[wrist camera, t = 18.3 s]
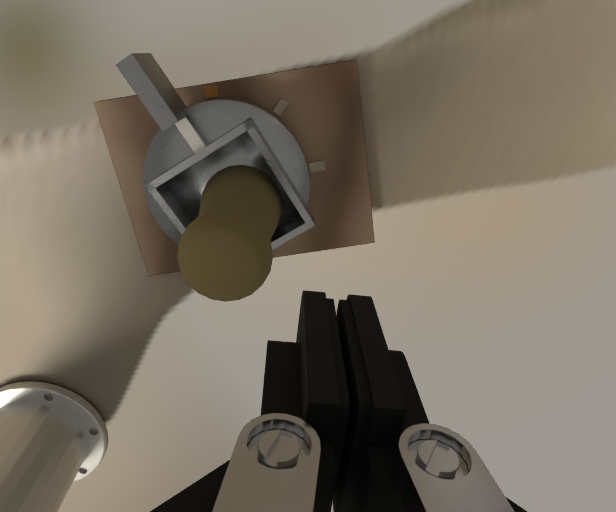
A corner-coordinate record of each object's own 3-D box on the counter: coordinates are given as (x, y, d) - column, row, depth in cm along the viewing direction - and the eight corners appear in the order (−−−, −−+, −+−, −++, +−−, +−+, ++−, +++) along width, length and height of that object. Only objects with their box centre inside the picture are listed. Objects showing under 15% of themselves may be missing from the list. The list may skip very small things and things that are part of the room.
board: (152, 269, 40) (148, 277, 39) (99, 100, 35) (92, 102, 33) (372, 237, 40) (375, 243, 38) (354, 59, 34) (357, 60, 33)
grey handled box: (337, 205, 37) (343, 227, 32) (211, 277, 39) (200, 307, 34) (219, 8, 31) (207, 0, 27) (80, 104, 33) (46, 113, 29)
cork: (185, 212, 35) (140, 278, 25) (231, 147, 33) (204, 189, 23) (251, 257, 36) (236, 337, 26) (299, 198, 34) (302, 258, 24)
